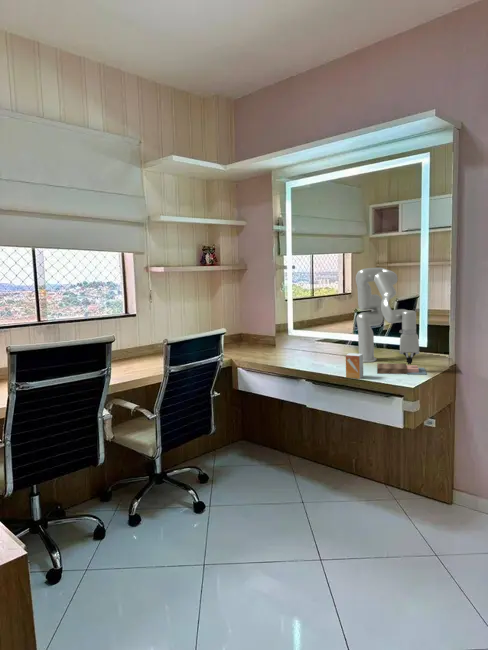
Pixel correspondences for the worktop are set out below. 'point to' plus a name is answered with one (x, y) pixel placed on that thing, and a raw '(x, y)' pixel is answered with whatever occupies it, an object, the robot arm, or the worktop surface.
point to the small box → (354, 365)
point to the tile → (412, 368)
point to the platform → (391, 368)
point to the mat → (421, 372)
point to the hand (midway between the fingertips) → (409, 363)
